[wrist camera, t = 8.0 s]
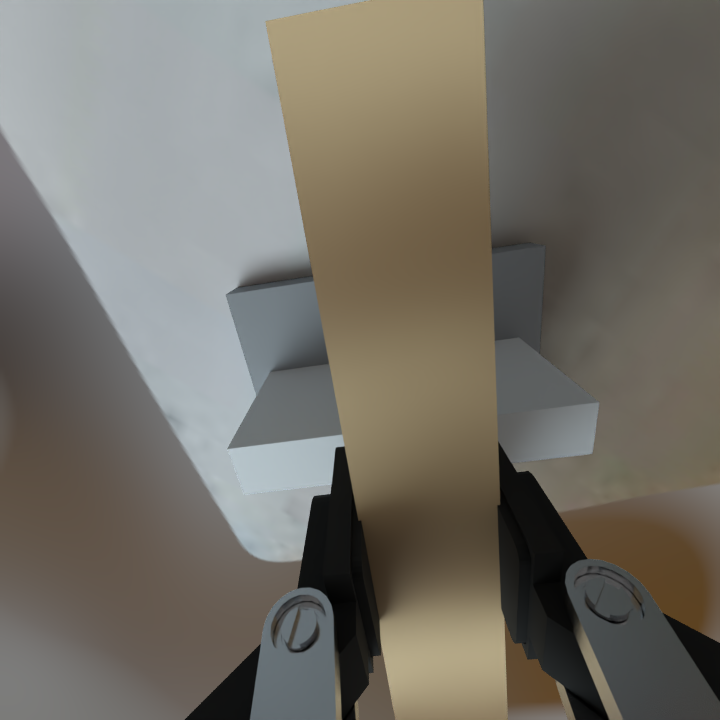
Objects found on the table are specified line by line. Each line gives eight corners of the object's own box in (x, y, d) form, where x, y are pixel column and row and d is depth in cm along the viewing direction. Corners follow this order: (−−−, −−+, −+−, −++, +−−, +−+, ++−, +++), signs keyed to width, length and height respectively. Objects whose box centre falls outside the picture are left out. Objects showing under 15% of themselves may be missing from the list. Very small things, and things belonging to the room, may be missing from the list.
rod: (309, 120, 9) (265, 20, 5) (429, 98, 9) (482, -22, 5) (400, 666, 15) (412, 812, 11) (472, 660, 15) (510, 807, 11)
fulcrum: (236, 287, 17) (152, 341, 10) (529, 242, 16) (656, 267, 9) (284, 453, 21) (247, 573, 14) (522, 423, 20) (607, 535, 13)
